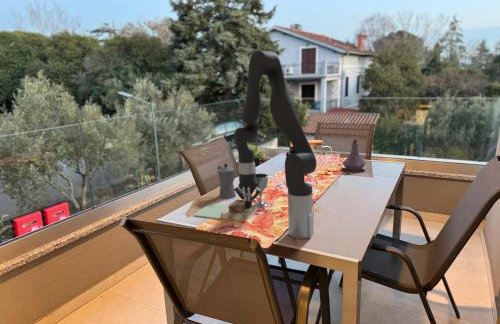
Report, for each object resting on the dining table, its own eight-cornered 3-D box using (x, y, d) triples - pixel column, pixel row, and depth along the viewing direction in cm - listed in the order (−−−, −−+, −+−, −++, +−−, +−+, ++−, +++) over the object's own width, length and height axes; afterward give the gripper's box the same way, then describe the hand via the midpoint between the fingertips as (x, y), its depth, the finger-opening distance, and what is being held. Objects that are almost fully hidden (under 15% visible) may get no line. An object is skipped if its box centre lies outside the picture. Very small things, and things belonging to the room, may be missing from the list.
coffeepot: (241, 197, 179) (239, 164, 175) (226, 201, 174) (223, 167, 170) (227, 190, 192) (225, 159, 188) (212, 193, 187) (210, 162, 183)
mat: (234, 207, 165) (234, 206, 165) (219, 219, 151) (219, 218, 150) (210, 204, 170) (209, 203, 170) (193, 216, 156) (193, 214, 156)
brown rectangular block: (248, 206, 158) (248, 200, 157) (241, 213, 150) (240, 207, 149) (237, 205, 160) (236, 199, 159) (229, 212, 152) (228, 205, 151)
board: (256, 210, 159) (256, 205, 159) (245, 221, 147) (245, 216, 146) (234, 207, 164) (233, 203, 163) (220, 218, 151) (220, 213, 151)
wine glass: (271, 203, 168) (270, 174, 165) (264, 208, 162) (262, 178, 158) (257, 200, 172) (256, 172, 169) (249, 205, 166) (248, 176, 162)
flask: (350, 165, 237) (351, 137, 232) (372, 168, 224) (373, 139, 220) (336, 169, 227) (337, 140, 222) (358, 173, 214) (359, 143, 210)
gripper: (230, 172, 148) (232, 209, 152) (257, 174, 143) (259, 212, 147) (237, 168, 155) (238, 203, 159) (263, 170, 150) (265, 206, 154)
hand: (248, 208), depth 153 cm, fingers closed
